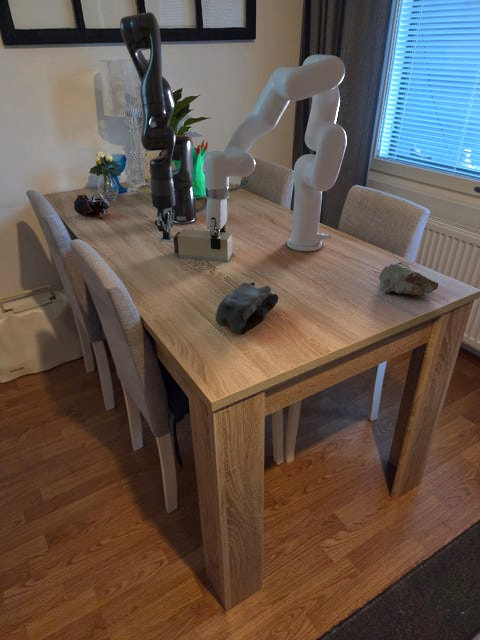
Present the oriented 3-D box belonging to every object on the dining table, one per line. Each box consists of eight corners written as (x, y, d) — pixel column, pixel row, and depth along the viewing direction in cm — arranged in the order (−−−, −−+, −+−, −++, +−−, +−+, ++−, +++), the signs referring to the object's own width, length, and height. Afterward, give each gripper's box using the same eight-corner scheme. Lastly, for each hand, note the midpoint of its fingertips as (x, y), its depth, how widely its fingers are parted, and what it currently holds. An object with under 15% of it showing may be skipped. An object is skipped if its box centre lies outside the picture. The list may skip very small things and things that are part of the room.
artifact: (399, 307, 125) (440, 299, 130) (406, 284, 121) (449, 278, 126) (362, 275, 139) (401, 270, 144) (368, 254, 135) (408, 249, 140)
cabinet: (178, 256, 154) (177, 235, 150) (184, 249, 159) (183, 229, 155) (227, 261, 150) (227, 239, 146) (232, 254, 156) (231, 233, 152)
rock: (249, 344, 108) (249, 316, 104) (210, 332, 113) (209, 305, 109) (280, 311, 122) (281, 285, 118) (243, 301, 127) (244, 276, 123)
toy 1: (101, 187, 180) (72, 186, 186) (93, 207, 178) (64, 205, 183) (117, 205, 191) (89, 203, 196) (109, 223, 188) (82, 221, 194)
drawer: (158, 251, 155) (157, 235, 152) (164, 246, 159) (162, 230, 156) (219, 257, 151) (219, 241, 148) (223, 251, 155) (223, 235, 152)
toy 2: (167, 190, 223) (163, 137, 210) (207, 188, 227) (205, 135, 214) (172, 202, 206) (167, 145, 193) (214, 199, 210) (213, 143, 197)
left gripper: (159, 185, 152) (163, 233, 161) (144, 196, 141) (149, 247, 150) (180, 187, 151) (183, 235, 160) (166, 198, 140) (170, 249, 149)
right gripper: (213, 184, 150) (214, 235, 159) (197, 199, 136) (200, 253, 145) (234, 186, 149) (234, 236, 158) (221, 201, 134) (222, 256, 144)
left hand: (167, 241), depth 155 cm, fingers closed
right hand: (218, 244), depth 151 cm, fingers closed on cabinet, 6 cm apart
